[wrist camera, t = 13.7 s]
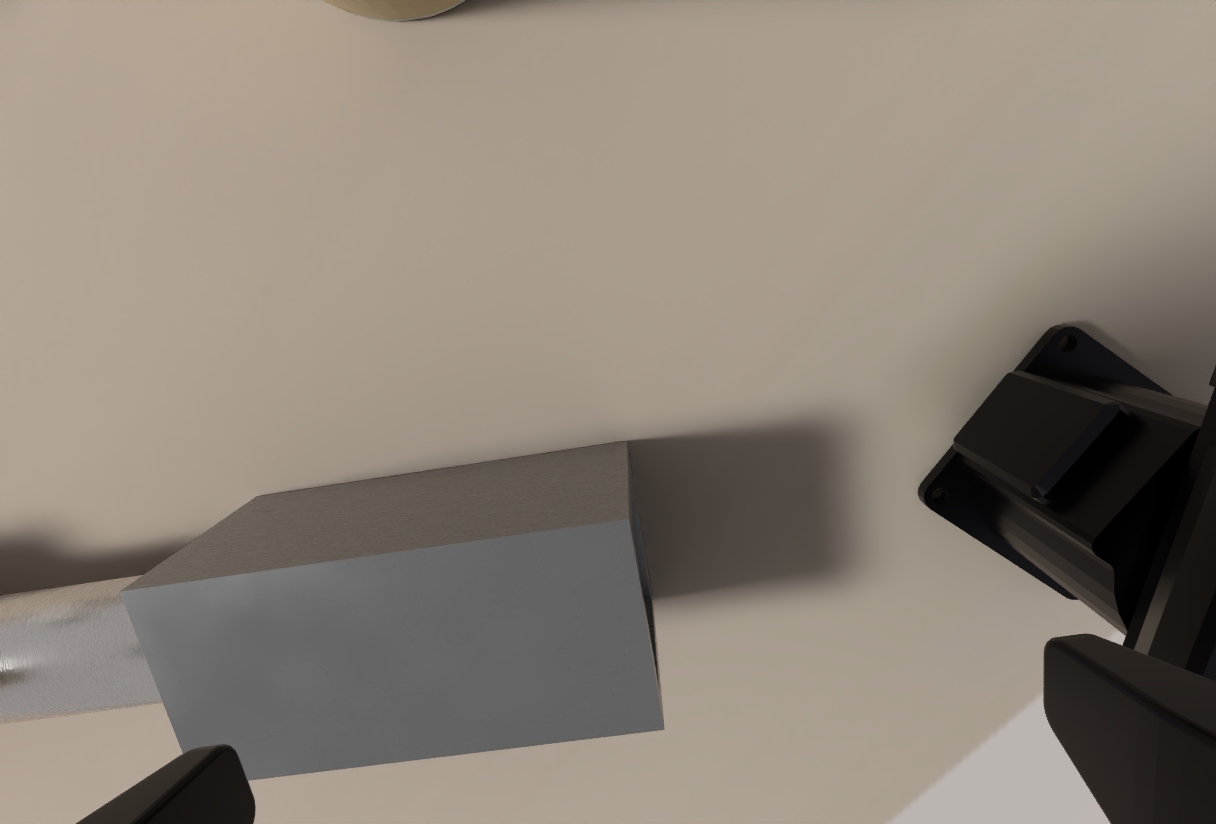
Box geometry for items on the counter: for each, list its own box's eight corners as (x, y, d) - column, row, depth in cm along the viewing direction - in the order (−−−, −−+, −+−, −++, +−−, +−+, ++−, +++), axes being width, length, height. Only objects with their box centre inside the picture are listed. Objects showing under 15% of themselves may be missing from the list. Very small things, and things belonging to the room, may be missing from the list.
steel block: (627, 440, 20) (629, 518, 14) (653, 600, 21) (664, 729, 16) (256, 496, 21) (118, 591, 15) (304, 647, 22) (196, 786, 16)
